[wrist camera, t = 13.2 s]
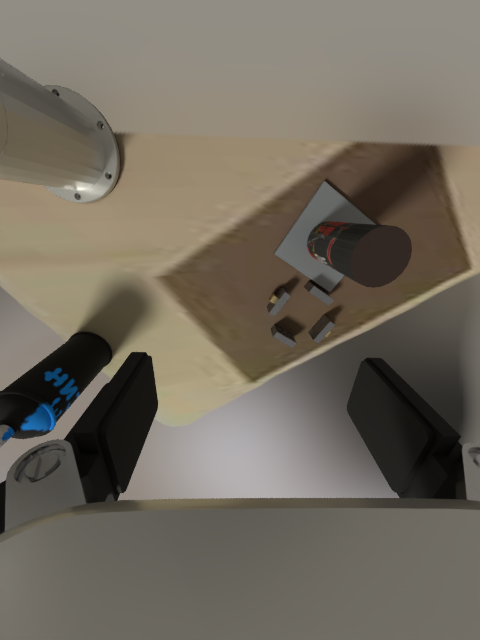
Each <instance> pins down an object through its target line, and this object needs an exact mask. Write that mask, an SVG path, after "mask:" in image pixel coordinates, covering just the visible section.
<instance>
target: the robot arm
mask: <svg viewBox="0 0 480 640" xmlns="http://www.w3.org/2000/svg"><path fill="white" fill-rule="evenodd" d="M103 125H104V128H102V126H103ZM119 171H120V155H119V148H118V145H117V142H116V138H115V136H114V134H113V132H112V129H111V127H110V126H109V124H108V123H107V121H106V119H105V118H104V116H103V115H102V114H101V113H100V112H99V111H98V109H97V108H96V107H94V105H92V104H91V103H90V102H89V101H88V100H86V99H85V98H84V97H82V96H81V95H79V94H78V93H76V92H74V91H72V90H70V89H67V88H64V87H60V86H42V85H40V84H39V83H37V82H36V81H34V80H33V79H31V78H29V77H28V76H26V75H25V74H23V73H22V72H20V71H19V70H17V69H16V68H14V67H13V66H11V65H10V64H8V63H7V62H5V61H4V60H2V59H1V58H0V179H2V180H8V181H15V182H22V183H29V184H35V185H42V186H44V187H45V188H46V189H48V190H49V191H50V192H52V193H53V194H55V195H56V196H58V197H60V198H62V199H65V200H68V201H71V202H77V203H92V202H96V201H99V200H101V199H103V198H104V197H105V196H107V195H108V194H109V193H110V192H111V190H112V189H113V188H114V186H115V184H116V182H117V179H118V176H119ZM110 175H112V178H110ZM80 196H81V198H80ZM157 408H158V399H157V392H156V385H155V378H154V371H153V364H152V357H151V356H148V355H147V353H146V352H132V353H131V354H130V355H129V356H128V358H127V359H126V360H125V362H124V363H123V364H122V366H121V367H120V369H119V370H118V371H117V373H116V374H115V375H114V377H113V378H112V379H111V381H110V382H109V383H107V384H106V385H105V386H104V387H103V388H102V389H101V391H100V392H99V393H98V394H97V396H96V397H95V398H94V400H93V401H92V403H91V404H90V405H89V407H88V408H87V409H86V411H85V412H84V413H83V414H82V416H81V417H80V418H79V420H78V421H77V423H76V424H75V425H74V426H73V428H72V429H71V431H70V432H69V433H68V434H67V436H66V437H65V439H64V440H59V439H57V440H51V441H47V442H44V443H41V444H39V445H37V446H35V447H33V448H31V449H30V450H28V451H27V452H26V453H24V454H23V455H22V456H21V457H19V458H18V459H17V461H16V462H15V463H14V464H13V465H12V466H11V468H10V470H9V471H8V474H7V478H6V480H5V481H4V482H2V483H0V640H480V444H476V443H466V444H465V445H463V446H462V445H461V444H460V443H459V442H458V440H459V439H460V437H461V436H460V435H459V434H458V433H457V432H456V431H455V430H454V429H453V428H452V427H451V426H450V425H449V424H448V423H447V422H446V421H445V420H444V419H443V418H442V417H441V416H440V415H439V414H438V413H437V412H436V411H435V410H434V409H433V408H432V407H431V406H430V405H429V404H428V403H427V402H425V400H424V399H422V397H420V396H419V395H418V394H417V393H416V392H415V391H414V390H413V389H412V388H411V387H410V386H409V385H408V384H407V383H406V382H405V381H404V380H403V379H402V378H401V377H400V376H399V375H398V374H397V373H396V372H395V371H394V370H393V369H392V368H391V367H390V366H389V365H388V364H387V363H386V362H385V361H384V360H383V359H381V358H366V359H365V360H364V361H362V362H361V364H360V367H359V370H358V373H357V376H356V379H355V382H354V385H353V389H352V392H351V395H350V398H349V401H348V404H347V411H348V414H349V416H350V417H351V419H352V421H353V423H354V424H355V426H356V428H357V430H358V431H359V433H360V435H361V437H362V438H363V440H364V442H365V444H366V446H367V447H368V449H369V451H370V452H371V454H372V456H373V458H374V459H375V461H376V463H377V465H378V466H379V468H380V470H381V471H382V473H383V475H384V477H385V479H386V480H387V482H388V484H389V486H390V487H391V489H392V490H393V491H394V492H396V493H397V494H398V496H399V497H400V498H233V499H232V498H230V499H227V498H226V499H153V500H120V501H117V500H118V497H119V494H120V493H124V492H125V491H126V489H127V486H128V484H129V481H130V479H131V476H132V473H133V471H134V468H135V466H136V463H137V461H138V458H139V456H140V453H141V450H142V448H143V445H144V443H145V440H146V437H147V435H148V432H149V430H150V427H151V425H152V422H153V419H154V417H155V414H156V412H157Z"/></svg>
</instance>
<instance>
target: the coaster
mask: <svg viewBox="0 0 480 640" xmlns="http://www.w3.org/2000/svg"><path fill="white" fill-rule="evenodd" d="M327 221H333V222H346V223H360V224H374V225H376V224H375V223H373V222H372V221H371V220H370V219H369V218H368V217H366V216H365V215H364V214H363V213H362V212H360V211H359V210H358V209H357V208H356V207H355V206H353V205H352V204H351V203H350V202H349V201H348V200H346V199H345V198H344V197H343V196H342V195H340V194H339V193H338V192H337V191H336V190H335V189H333V188H332V187H331V186H330V185H329V184H327V183H326V182H325V181H323V182H322V184H321V185H320V187H319V188H318V190H317V191H316V192H315V194H314V195H313V197H312V198H311V200H310V201H309V203H308V204H307V206H306V207H305V208H304V210H303V211H302V213H301V214H300V216H299V217H298V219H297V220H296V222H295V223H294V224H293V226H292V227H291V229H290V230H289V232H288V233H287V235H286V236H285V238H284V239H283V241H282V242H281V243H280V245H279V246H278V248H277V249H276V251H275V252H274V254H275V255H277V256H278V257H280V258H281V259H283V260H284V261H286V262H287V263H288V264H290V265H291V266H293V267H294V268H296V269H297V270H298V271H300V272H301V273H303V274H304V275H306V276H307V277H309V278H310V279H311V280H313V281H314V282H316V283H317V284H319V285H320V286H321V287H323V288H324V289H326V290H327V291H329V292H331V290H332V289H333V288H334V287H335V286H336V285H337V283H338V282H339V281H340V280H341V279H342V277H343V276H344V275H343V274H341V273H340V272H338V271H336V270H334V269H332V268H331V267H329V266H327V265H325V264H323V263H322V262H320V261H318V260H316V259H314V258H313V257H312V256H311V255H310V253H309V252H308V248H307V240H308V236H309V234H310V232H311V231H312V230H313V228H314V227H316V226H317V225H318V224H320V223H322V222H327Z"/></svg>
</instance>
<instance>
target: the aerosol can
mask: <svg viewBox="0 0 480 640" xmlns="http://www.w3.org/2000/svg"><path fill="white" fill-rule="evenodd" d="M111 358H112V350H111V348H110V346H109V344H108V343H107V342H106V341H105V340H104V339H103V338H101V337H100V336H98V335H96V334H93V333H89V332H80V333H77V334H74V335H73V336H71V337H70V339H69V340H68V341H67V342H66V343H65V344H63V345H62V346H61V347H59V348H58V349H57V350H55V351H54V352H53V353H51V354H50V355H49V356H47V357H46V358H45V359H43V360H42V361H41V362H39V363H38V364H37V365H36V366H34V367H33V368H32V369H30V370H29V371H28V372H26V373H25V374H24V375H22V376H21V377H20V378H18V379H17V380H16V381H14V382H13V383H12V384H10V385H9V386H8V387H6V388H5V389H4V390H3V391H0V447H1V446H2V445H3V444H4V443H5V442H6V441H7V440H8V439H9V438H11V437H12V438H17V439H27V438H33V437H37V436H43V435H46V434H47V433H49V432H50V431H52V430H53V429H54V427H55V425H56V422H57V421H58V419H60V417H61V416H62V415H63V414H64V413H65V412H66V410H67V409H68V408H69V407H70V406H71V404H72V403H73V402H74V401H75V400H76V399H77V398H78V396H79V395H80V394H81V393H82V392H83V391H84V389H85V388H86V387H87V386H88V385H89V384H90V382H91V381H92V380H93V379H94V378H95V377H96V375H97V374H98V373H99V372H100V371H101V370H102V369H103V367H104V366H106V365H108V364H109V362H110V361H111Z"/></svg>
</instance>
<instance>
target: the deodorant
mask: <svg viewBox="0 0 480 640" xmlns="http://www.w3.org/2000/svg"><path fill="white" fill-rule="evenodd" d="M307 248H308V252H309V253H310V255H311V256H312V257H313V258H314V259H316V260H318V261H320V262H322V263H323V264H325V265H327V266H329V267H331V268H332V269H334V270H336V271H338V272H340V273H341V274H343V275H345V276H347V277H349V278H350V279H352V280H354V281H356V282H357V283H359V284H361V285H364V286H366V287H380V286H383V285H386V284H388V283H390V282H392V281H393V280H395V279H396V278H397V277H398V276H399V275H400V274H401V273H402V272H403V271H404V269H405V268H406V267H407V265H408V262H409V260H410V258H411V252H412V246H411V241H410V238H409V236H408V235H407V233H406V232H405V231H404V230H402V229H400V228H398V227H395V226H387V225H374V224H360V223H346V222H333V221H327V222H322V223H320V224H318V225H317V226H316V227H314V228H313V230H312V231H311V232H310V234H309V236H308V240H307Z"/></svg>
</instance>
